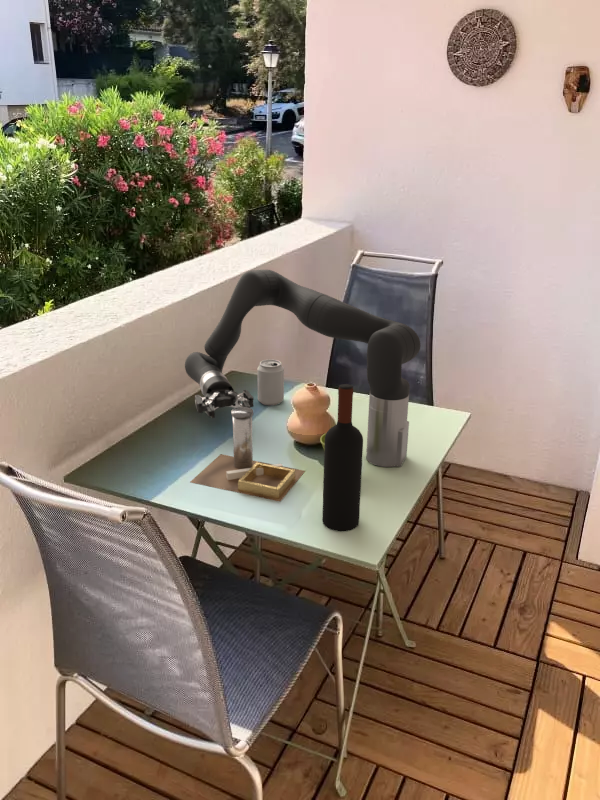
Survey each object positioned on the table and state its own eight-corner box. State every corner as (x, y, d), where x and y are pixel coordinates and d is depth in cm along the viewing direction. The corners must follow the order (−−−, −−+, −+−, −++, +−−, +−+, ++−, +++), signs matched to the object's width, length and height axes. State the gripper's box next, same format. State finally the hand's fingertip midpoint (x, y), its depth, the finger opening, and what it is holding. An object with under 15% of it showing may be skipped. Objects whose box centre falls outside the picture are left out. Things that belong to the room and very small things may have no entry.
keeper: (295, 479, 164) (295, 469, 163) (278, 499, 156) (278, 489, 155) (256, 471, 167) (256, 462, 166) (238, 490, 159) (238, 481, 158)
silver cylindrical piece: (257, 462, 171) (256, 408, 166) (248, 471, 167) (247, 417, 162) (238, 458, 173) (237, 405, 168) (229, 467, 169) (227, 413, 163)
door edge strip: (226, 477, 164) (226, 471, 164) (281, 469, 168) (281, 463, 168) (227, 480, 163) (227, 473, 163) (282, 471, 167) (282, 465, 166)
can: (283, 406, 205) (283, 367, 200) (256, 406, 205) (256, 366, 200) (284, 396, 212) (284, 358, 207) (258, 396, 212) (258, 357, 207)
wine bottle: (317, 527, 148) (320, 390, 136) (329, 509, 154) (333, 377, 143) (352, 534, 145) (359, 396, 134) (363, 516, 152) (370, 382, 140)
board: (305, 474, 168) (305, 470, 168) (280, 505, 155) (280, 501, 155) (220, 457, 175) (220, 454, 175) (190, 485, 163) (189, 482, 162)
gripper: (188, 377, 187) (201, 401, 173) (242, 372, 191) (258, 395, 177) (189, 404, 190) (202, 430, 176) (242, 398, 194) (258, 423, 180)
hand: (230, 412), depth 177 cm, fingers open, 8 cm apart
